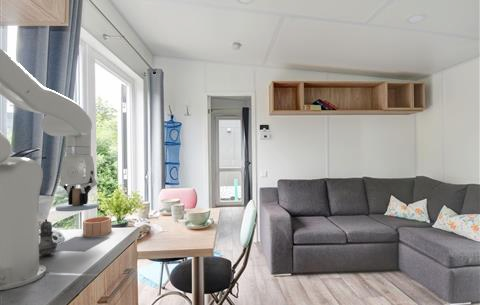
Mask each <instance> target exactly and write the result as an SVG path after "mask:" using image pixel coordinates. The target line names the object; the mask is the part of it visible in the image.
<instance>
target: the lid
mask: <svg viewBox="0 0 480 305" xmlns="http://www.w3.org/2000/svg"><path fill="white" fill-rule="evenodd" d="M81 193H82V192H81V187H76V188H73V189H72V205H68V203H67V204H62V205H61V204H60V205H57V206H55V211H57V212H77V211H78V212H79V211H87V210H93V209H97V208H99V207H100V203H98V202H87V204H84V205H80V194H81Z"/></svg>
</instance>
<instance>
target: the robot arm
mask: <svg viewBox="0 0 480 305" xmlns="http://www.w3.org/2000/svg"><path fill="white" fill-rule="evenodd" d="M0 95H1V96H2V97H3V98H5V99H6V100H8V102H10V103H12V105H13V106H16V107H17V108H19V109H21V110H24V111H28V112H30V113H31V112H32V113H35V114H41V115H44V116H43V117H42V119H41V121H40V127H41V129H42V131H43V132H44V133H45V134H47V135H49V136H52V137H65V148H64V149H63V153H65V155H64V156H63V157H62V161H61V166H60V175H59V176H60V177H59V179H60V180H59V186H60V187H62V188H63V189H64V190H65V191H66V193H67V194H68V195H67V201H68V203H67V204H68V205H72V189H73V188H77V186H78V185H79V186H80V188H81V192H82V193H81V194H80V205H84V204H87V203H89V202H88V201H89V193H90V192H91V190H92V189H93V188H94V187H96V186H98V182H97V180H96V178H95V163H94V159H93V156H92V129H93V122H92V120H91V117H90V115H89V114H88V113H87V112H86V111H85V110H84V109H83V108H82V107H81V106H80V104H78V103H77V102H76V101H74V100H72V99H71V98H69V97H67V96H65V95H63V94H60V93H59V92H56V91H55V90H52V89H50V88H47V87H46V86H43V84H41V83H40V82H39V81H38V80H37V79H36V78H35V77H33V75H32V74H30V73H29V72H28V71H27V70H26V69H25V68H24V67H23V65H21V64H20V63H19V62H18V61H17V60H16V59H15V58H14V57H12V56H11V55H10V54H9V53H8V52H6V51H5V50H4V49H2V48H0ZM12 153H13V147H12V144H11V142H10V140H9V139H8V137H7V136H6V135H5V134H4V133H3V131H1V130H0V291H3V290H9V289H15V288H18V287H22V286H24V285H25V286H26V285H28V284H30V283H34V282H35V281H37V280H39V279H40V278H42V277H43V276H45V275H46V273H47V267H46V265H44V264H42V263H40V258H39V256H40V255H39V244H40V235H39V234H40V230H39V229H40V227H39V226H40V220H39V219H40V218H39V217H40V212H39V207H40V206H39V204H40V193H41V188H42V184H43V179H44V170H43V168H42V166H41V164H40V163H39V162H38V161H36V160H34V159H32V158H29V157H28V158H27V157H23V156H11V154H12Z"/></svg>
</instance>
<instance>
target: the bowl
mask: <svg viewBox="0 0 480 305" xmlns="http://www.w3.org/2000/svg"><path fill="white" fill-rule="evenodd" d="M111 232H112V217H110V216H95V217H90V218H86V219H84V220H83V221H82V235H83V236H84V237H100V236H105V235H106V234H110V233H111Z"/></svg>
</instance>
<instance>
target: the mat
mask: <svg viewBox="0 0 480 305" xmlns="http://www.w3.org/2000/svg"><path fill="white" fill-rule="evenodd" d="M110 238H111V237H110V236H109V237H108V236H107V237H106V236H74V237H71V238H70V239H66V240H65V241H63V243H62V242H61V243H62V244H60V243H59V244H60V245H58V246H57V247H56V250H55V251H56V252H82V253H83V252H84V253H85V252H87V251H89V250H91V249H92V248H93V247H96V246H97V245H99V244H101V243H103V242H105V241H107V240H108V239H110ZM55 251H54V252H55Z"/></svg>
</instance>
